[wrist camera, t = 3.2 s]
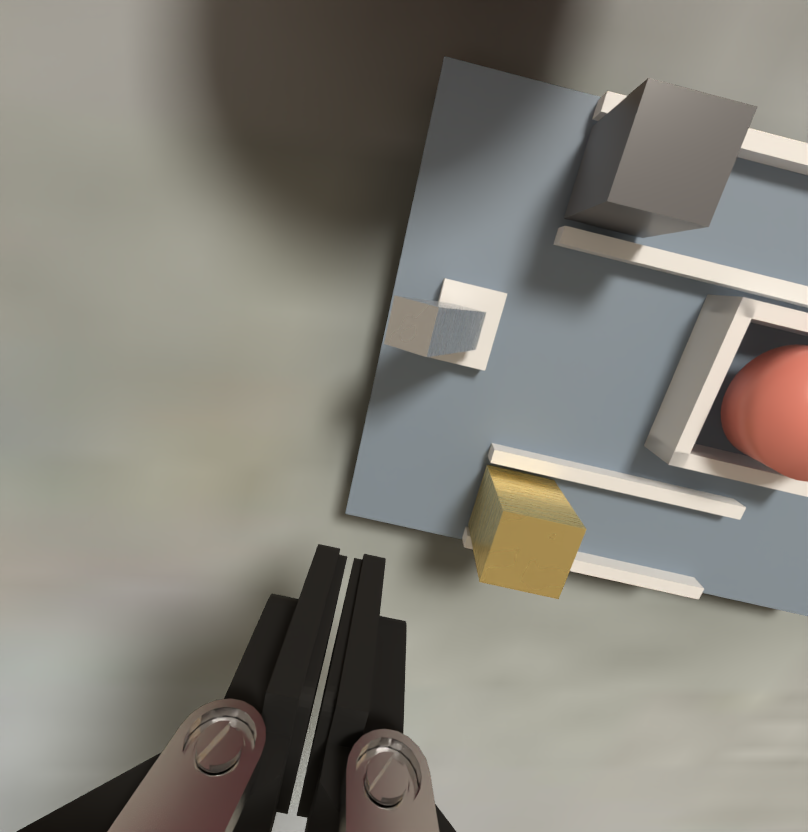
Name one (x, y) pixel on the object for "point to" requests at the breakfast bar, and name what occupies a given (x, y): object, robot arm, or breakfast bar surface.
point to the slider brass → (523, 532)
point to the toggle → (433, 327)
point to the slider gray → (659, 161)
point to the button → (771, 410)
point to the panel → (593, 350)
